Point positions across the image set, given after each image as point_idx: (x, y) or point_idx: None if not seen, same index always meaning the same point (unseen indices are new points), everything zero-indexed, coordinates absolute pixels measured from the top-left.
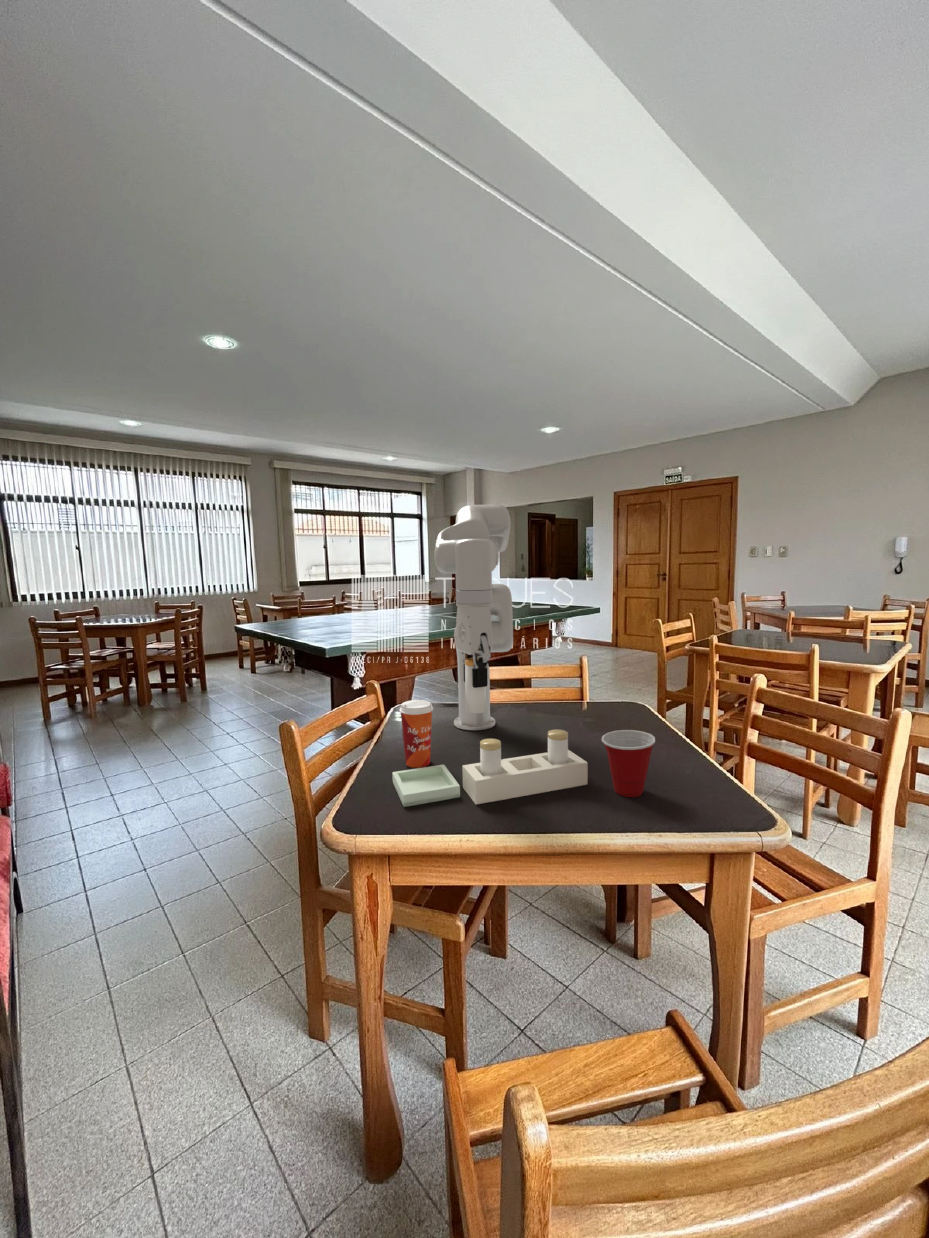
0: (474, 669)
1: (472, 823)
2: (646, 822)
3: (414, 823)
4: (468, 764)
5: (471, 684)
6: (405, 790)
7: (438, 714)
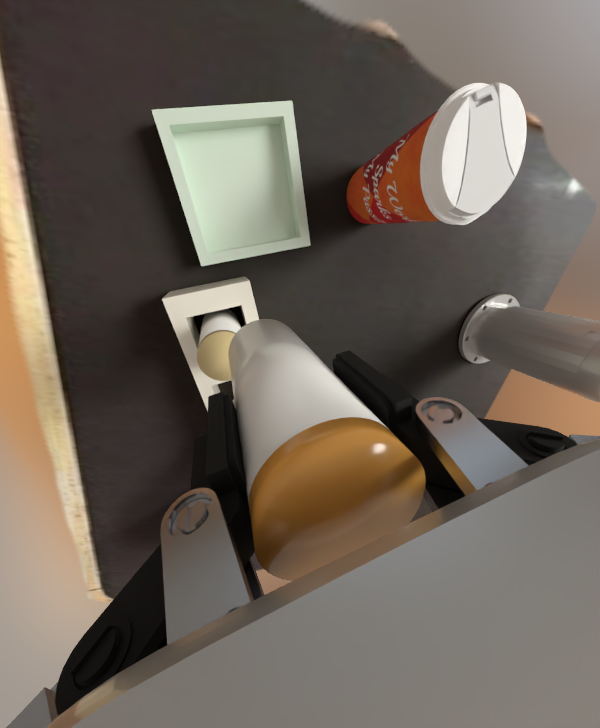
0: (210, 480)
1: (87, 274)
2: (115, 506)
3: (72, 139)
4: (252, 294)
5: (244, 388)
6: (179, 121)
7: (554, 270)
